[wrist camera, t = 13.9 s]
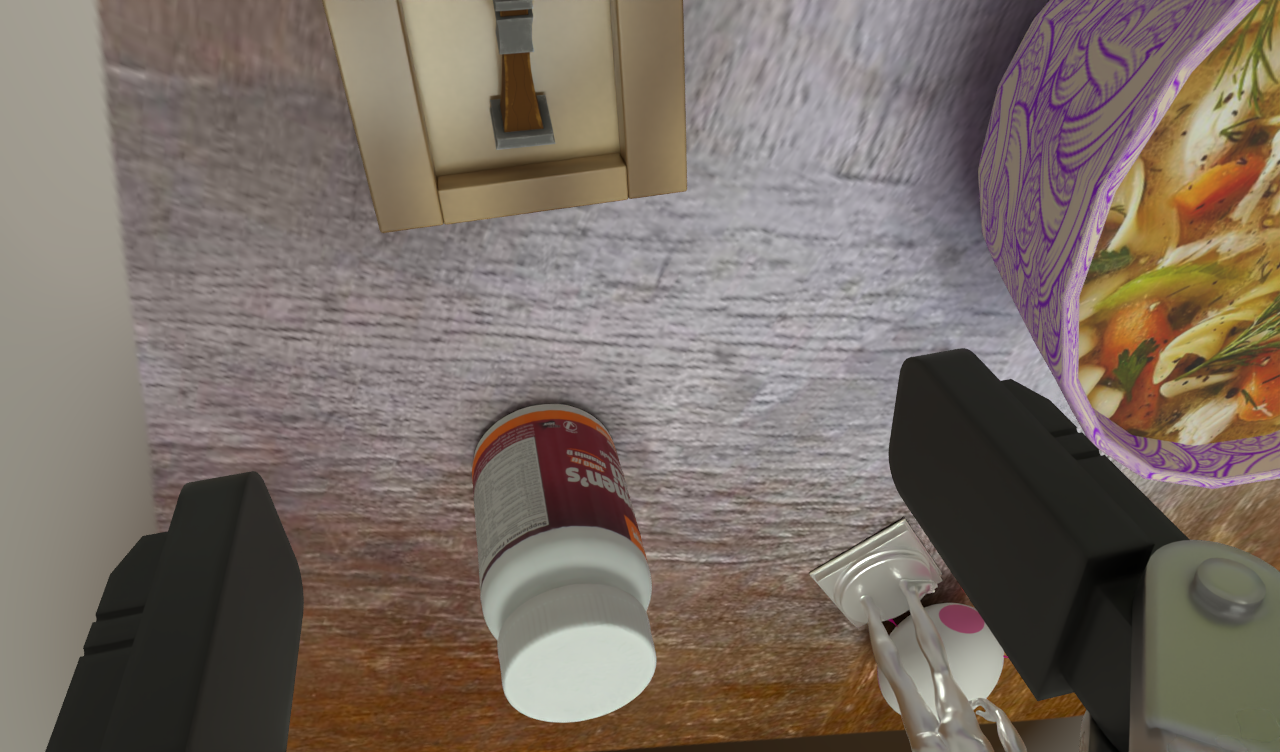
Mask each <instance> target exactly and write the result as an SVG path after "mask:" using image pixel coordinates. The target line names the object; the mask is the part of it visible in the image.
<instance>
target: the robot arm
mask: <svg viewBox="0 0 1280 752" xmlns="http://www.w3.org/2000/svg"><path fill="white" fill-rule="evenodd" d="M1076 428H1077V427H1076V426H1075V425H1074V424H1073V423H1072V422H1071V421H1070V420H1069V419H1068V418H1067V417H1066V416H1065V415H1064V414H1063V413H1062V412H1061V411H1060V410H1059V409H1058V408H1057V407H1056V406H1055V405H1054V404H1053V403H1052V402H1051V401H1050V400H1049V399H1047V398H1045V397H1043V396H1041V395H1039V394H1038V393H1036V392H1034V391H1032V390H1030V389H1028V388H1027V387H1025V386H1023V385H1021V384H1019V383H1017V382H1016V381H1014V380H1012V379H1009V380H1004V381H1000V380H999V379H998V378H997V377H996V376H995V375H994V374H993V373H992V372H991V371H990V370H989V369H988V368H987V367H986V365H985V364H984V363H983V362H982V361H981V360H980V359H979V358H978V357H977V356H976V355H975V354H974V353H973V352H972V351H970V350H968V349H965V348H961V349H955V350H949V351H944V352H938V353H932V354H927V355H921V356H915V357H910V358H908V359H906V360H905V361H904V363H903V365H902V367H901V370H900V375H899V382H898V389H897V396H896V403H895V409H894V416H893V423H892V430H891V437H890V443H889V464H890V470H891V474H892V478H893V481H894V484H895V486H896V488H897V491H898V493H899V494H900V496H901V498H902V499H903V501H904V502H905V504H906V505H907V507H908V508H909V510H910V511H911V513H912V514H913V516H914V517H915V519H916V520H917V522H918V523H919V525H920V526H921V527H922V529H923V530H924V532H925V533H926V535H927V536H928V538H929V539H930V541H931V542H932V544H933V545H934V547H935V548H936V550H937V551H938V553H939V554H940V556H941V557H942V559H943V560H944V562H945V563H946V565H947V566H948V568H949V569H950V571H951V572H952V574H953V575H954V577H955V578H956V580H957V581H958V583H959V584H960V586H961V587H962V589H963V590H964V592H965V593H966V595H967V596H968V598H969V599H970V601H971V602H972V604H973V605H974V607H975V608H976V610H977V611H978V613H979V614H980V616H981V617H982V619H983V620H984V622H985V623H986V625H987V626H988V628H989V629H990V631H991V632H992V634H993V635H994V637H995V638H996V640H997V641H998V643H999V644H1000V646H1001V647H1002V649H1003V650H1004V652H1005V653H1006V655H1007V656H1008V658H1009V659H1010V661H1011V662H1012V664H1013V665H1014V667H1015V668H1016V670H1017V671H1018V673H1019V674H1020V676H1021V677H1022V679H1023V680H1024V682H1025V683H1026V685H1027V686H1028V688H1029V689H1030V690H1031V692H1032V693H1033V695H1034V696H1035V698H1036V699H1037V701H1040V700H1044V699H1048V698H1052V697H1056V696H1061V695H1065V694H1069V693H1073V692H1075V694H1076V695H1077V697H1078V698H1079V699H1080V701H1081V702H1082V704H1083V705H1084V706H1085V708H1086V709H1087V710H1086V712H1085V715H1084V717H1083V720H1082V725H1081V731H1080V746H1079V747H1080V748H1079V752H1280V572H1279V571H1278V570H1276V569H1275V568H1274V567H1272V566H1271V565H1269V564H1268V563H1266V562H1264V561H1263V560H1261V559H1259V558H1257V557H1255V556H1253V555H1251V554H1250V553H1247V552H1245V551H1242V550H1240V549H1237V548H1235V547H1231V546H1228V545H1225V544H1221V543H1216V542H1211V541H1202V540H1190V539H1188V538H1187V537H1186V536H1185V535H1184V534H1183V533H1182V532H1181V531H1180V530H1179V529H1178V528H1177V527H1176V526H1175V525H1174V524H1173V523H1172V522H1171V521H1170V520H1169V519H1168V518H1167V517H1166V516H1165V515H1164V514H1163V513H1162V512H1161V511H1160V510H1159V509H1158V508H1157V507H1156V506H1155V505H1154V504H1153V503H1152V502H1151V501H1150V500H1149V499H1148V498H1147V497H1146V496H1145V495H1144V494H1143V493H1142V492H1141V491H1140V490H1139V489H1138V488H1137V487H1136V486H1135V485H1134V484H1133V483H1132V482H1131V481H1130V480H1129V479H1128V478H1127V477H1126V476H1125V475H1124V474H1123V473H1122V472H1121V471H1120V470H1119V469H1118V468H1117V467H1116V466H1115V465H1114V464H1113V463H1112V462H1111V461H1110V460H1109V459H1108V458H1107V457H1106V456H1105V455H1103V456H1101V455H1100V454H1099V449H1098V448H1097V447H1096V446H1095V445H1094V444H1093V443H1092V442H1091V441H1090V440H1089V439H1088V438H1087V437H1086V436H1085V435H1084V434H1083V433H1078V432H1077V429H1076ZM303 604H304V602H303V587H302V580H301V574H300V570H299V566H298V563H297V560H296V557H295V555H294V552H293V550H292V548H291V545H290V543H289V540H288V538H287V535H286V533H285V531H284V528H283V526H282V523H281V521H280V519H279V516H278V514H277V511H276V509H275V506H274V504H273V502H272V499H271V497H270V494H269V492H268V490H267V487H266V485H265V483H264V481H263V479H262V477H261V476H260V475H259V474H258V473H257V472H255V471H252V472H246V473H241V474H235V475H229V476H224V477H218V478H212V479H207V480H201V481H195V482H190V483H187V484H185V485H184V487H183V488H182V490H181V492H180V495H179V498H178V501H177V505H176V508H175V511H174V514H173V517H172V521H171V524H170V527H169V530H168V532H163V533H157V534H152V535H146V536H142V538H141V539H140V540H139V541H138V542H137V543H136V545H135V546H134V547H133V548H132V549H131V550H130V552H129V553H128V554H127V555H126V556H125V558H124V559H123V560H122V561H121V562H120V564H119V565H118V566H117V567H116V568H115V569H114V571H113V572H112V573H111V574H110V577H109V579H108V582H107V585H106V587H105V590H104V593H103V596H102V598H101V601H100V604H99V607H98V609H97V612H96V618H97V621H96V622H94V623H92V626H91V628H90V631H89V634H88V637H87V640H86V642H85V645H84V648H83V649H84V656H83V657H80V658H79V661H78V664H77V667H76V669H75V672H74V675H73V678H72V680H71V683H70V686H69V689H68V691H67V694H66V697H65V699H64V702H63V705H62V708H61V710H60V713H59V716H58V719H57V722H56V724H55V727H54V730H53V732H52V735H51V738H50V740H49V743H48V746H47V749H46V751H45V752H286V747H287V739H288V731H289V723H290V715H291V707H292V699H293V691H294V683H295V675H296V666H297V658H298V650H299V642H300V634H301V626H302V618H303Z"/></svg>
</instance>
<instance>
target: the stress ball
mask: <svg viewBox="0 0 1280 752" xmlns="http://www.w3.org/2000/svg"><path fill="white" fill-rule="evenodd" d="M924 609H925V610H926V612H927V613H928V615H929V617H930V618H931V620H932V622H933V624H934V625H935V627H936V629H937V631H938V633H939V635H940V637H941V639H942V641H943V644H944V646H945V649H946V653H947V657H948V662H949V666H950V669H951V672H952V675H953V677H954V679H955V680H956V682H957V683H958V685H959V687H960V688H961V690H962V691H963V693H964V694H965V696H966V697H967V699H968V701H971V700H972V699H977V698H984V699H986V698H987V697H988V696H989V694H990V693H991V692H992V690H993V689H994V687H995V685H996V684H997V681H998V679H999V677H1000V674H1001V671H1002V667H1003V661H1004V657H1006V658H1008V657H1007V656H1004V650H1003V649H1002V647H1001V646H1000V644H999V643H998V641H997V640H996V638H995V637H994V635H993V634H992V632H991V631H990V629H989V628H988V626H987V625H986V623H985V622H984V620H983V619H982V617H981V616H980V614H979V613H978V611H977V610H976V609H975V608H973V607H971V606H968V605H964V604H959V603H940V604H934V605H931V606H928V607H925V608H924ZM889 621H891V622H892V623H894V624H895V622H894V620H893V618H892V619H889ZM895 625H896V624H895ZM889 637H890V639H891V640H892V641H893V642H894V644H895V646H896V648H897V650H898V652H899V655H900V658H901V661H902V663H903V666H904V669H905V670H906V672H907V673H908V674H909V675H910V676H911V678H912V679H913V681H914V683H915V685H916V687H917V689H918V690H919V692H920V694H921V696H922V697H923V699H924V700H925V702H926V703H927V705H928V706H929V708H930V709H931V711H932V712H933V714H934V715H935V717H936V718H937V720H938V721H939V718H938V715H937V711H936V706H935V696H934V686H933V681H932V675H931V671H930V667H929V664H928V662H927V660H926V658H925V657H924V655H923V653H922V651H921V649H920V647H919V645H918V642H917V639H916V633H915V627H914V623H913V620H912V617H911V615H909V616H908V617H907V618H905V619H904V620H903V621H902V622H901V623H900V624H898V625H896V627H895V629H894V630H893V631H892V632H891V634H890V635H889ZM877 675H878V683H879V687H880V690H881V692H882V694H883V696H884V698H885V700H886V701H887V703H888V704H889V705H890V706H891V707H892V708H893V709H894V710H895V711H896V712H897V713H899V714H900V715H901V713H900V709H899V705H898V702H897V699H896V696H895V694H894V692H893V690H892V688H891V686H890V683H889V681H888V680H887V678H886V677H885V675H884V674H883V673H882V671H881V670H880V668H879V667H878V669H877ZM977 706H979V705H977ZM977 706H974V707H972V709H973V710H974V709H975V708H976V707H977ZM939 723H940V721H939Z"/></svg>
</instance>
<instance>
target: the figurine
mask: <svg viewBox="0 0 1280 752" xmlns="http://www.w3.org/2000/svg"><path fill="white" fill-rule="evenodd" d="M809 574H810V576H811V577H812V578H813V579H814V580H815V581H816V583H817V584H818V585H819V586H820V587H821V588H822V590H823V591H824V592H825V593H826V594H827V595H828V597H829V598H830V599H831V600H832V601H833V602H834V604H835V605H836V606H837V607H838V608H839V609H840V611H841V612H842V613H843V614H844V615H845V616H846V618H847V619H848V620H849V621H850V622H851V623H852V624H854V625H855V627H856V628H859V627H861V626H863V625H865V624H867V623H868V627H869V634H870V639H871V644H872V649H873V654H874V657H875V660H876V662H877V665H878V667H879V668H880V670H881V671H882V673H883V674H884V675H885V677H886V678H887V680H888V681H889V683H890V686H891V688H892V690H893V692H894V694H895V696H896V699H897V702H898V705H899V709H900V713H901V716H902V720H903V723H904V726H905V729H906V732H907V735H908V738H909V740H910V744H911V748H912V752H994V750H993V748H992V746H991V744H990V742H989V741H988V739H987V738H986V737H985V736H984V734H983V733H982V731H981V729H980V727H979V724H978V721H977V719H976V716H975V713H974V711H973V709H972V707H974V706H977V705H980V706H982V707H984V709H985V710H986V712H985V713H984V712H982V711H980V710H978V711H976V714H978V715H980V716H982V717H984V718H985V719H987V720H989V721H995V722H997V729H998V734H999V738H1000V740H1001V742H1002V745H1003V747H1004V749H1005V751H1006V752H1027V750H1026V747H1025V745H1024V743H1023V741H1022V739H1021V737H1020V736H1019V734H1018V732H1017V731H1016V729H1015V728H1014V726H1013V725H1012V723H1011V722H1010V720H1009V719H1008V717H1007V715H1006V714H1005V713H1004V711H1003V710H1001V709H999V708H998V707H997V706H995V705H994V704H993V703H991V702H990V701H989V700H987V699H984V698H977V699H972V700H971V701H968V699H967V697H966V696H965V694H964V693H963V691H962V690H961V688H960V687H959V685H958V683H957V682H956V680H955V679H954V677H953V675H952V672H951V669H950V666H949V662H948V657H947V653H946V649H945V646H944V644H943V641H942V639H941V637H940V635H939V633H938V631H937V629H936V627H935V625H934V624H933V622H932V620H931V618H930V617H929V615H928V613H927V612H926V610H925V609H924V607H923V606H922V604H921V602H920V600H921V599H922V598H923V597H924V596H925V594H930V593H934V592H935V590H934V589H935V588H936V587H938V585H937V584H938V583H940V582H942V581H943V580H942V579H941V577H940V575H941V574H942V573H941V571H940V570H939V568H938V567H937V565H936V564H935V562H934V561H933V559H932V558H931V556H930V555H929V553H928V552H927V551H926V549H925V548H924V546H923V545H922V543H921V542H920V540H919V539H918V537H917V536H916V534H915V533H914V531H913V530H912V529H911V527H910V526H909V524H908V523H907V521H906V520H905V518H904V519H902V520H900V521H899V522H897V523H895V524H894V525H892V526H890V527H888V528H887V529H885V530H883V531H881V532H880V533H878V534H876V535H874V536H873V537H871V538H869V539H868V540H866V541H864V542H862V543H861V544H859V545H857V546H855V547H854V548H852V549H850V550H848V551H847V552H845V553H843V554H841V555H840V556H838V557H836V558H835V559H833V560H831V561H829V562H828V563H826V564H824V565H822V566H821V567H819V568H817V569H815V570H814V571H812V572H810V573H809ZM908 610H910V613H911V617H912V620H913V623H914V627H915V633H916V639H917V642H918V645H919V647H920V649H921V651H922V653H923V655H924V657H925V658H926V660H927V662H928V664H929V667H930V671H931V675H932V681H933V686H934V696H935V706H936V711H937V715H938V718H939V721H940V723H939V721H938V720H937V718H936V717H935V715H934V714H933V712H932V711H931V709H930V708H929V706H928V705H927V703H926V702H925V700H924V699H923V697H922V696H921V694H920V692H919V690H918V689H917V687H916V685H915V683H914V681H913V679H912V678H911V676H910V675H909V674H908V673H907V672H906V670H905V669H904V666H903V663H902V661H901V658H900V655H899V652H898V650H897V648H896V646H895V644H894V642H893V641H892V640H891V639H890V637H889V635H888V633H887V631H886V629H885V627H884V625H883V624H882V621H886V620H889V619H892V618H895V617H897V616H899V615H901V614H903V613H905V612H907V611H908Z"/></svg>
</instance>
